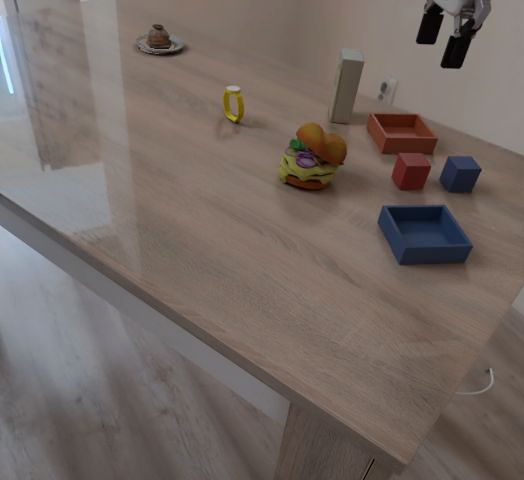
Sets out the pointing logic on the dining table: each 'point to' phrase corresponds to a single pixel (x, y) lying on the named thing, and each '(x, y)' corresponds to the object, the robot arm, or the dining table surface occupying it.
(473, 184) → the blue block
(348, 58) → the cosmetic box
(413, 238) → the blue tray
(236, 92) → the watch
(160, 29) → the pastry
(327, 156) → the cheeseburger
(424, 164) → the red block
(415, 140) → the terracotta tray
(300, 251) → the dining table surface
